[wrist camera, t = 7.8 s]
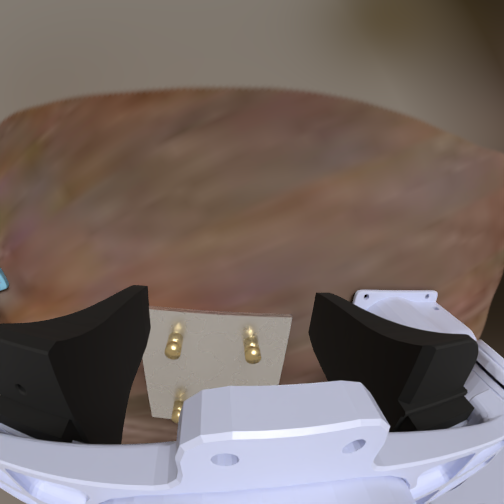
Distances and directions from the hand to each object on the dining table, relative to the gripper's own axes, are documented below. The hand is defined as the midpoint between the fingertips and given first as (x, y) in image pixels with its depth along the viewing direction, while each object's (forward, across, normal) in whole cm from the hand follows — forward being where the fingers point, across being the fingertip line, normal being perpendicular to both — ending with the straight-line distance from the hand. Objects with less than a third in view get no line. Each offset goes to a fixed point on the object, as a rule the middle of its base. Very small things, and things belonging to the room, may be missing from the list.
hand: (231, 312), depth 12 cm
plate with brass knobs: (+9, +1, +12) cm, 15 cm away
